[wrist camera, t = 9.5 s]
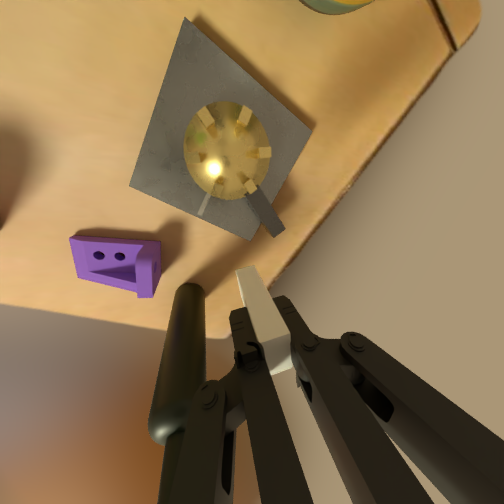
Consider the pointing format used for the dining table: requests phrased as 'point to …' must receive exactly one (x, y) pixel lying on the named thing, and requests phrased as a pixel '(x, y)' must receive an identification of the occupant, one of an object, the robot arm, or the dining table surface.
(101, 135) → the dining table surface
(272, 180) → the plate
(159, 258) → the bracket
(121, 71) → the dining table surface
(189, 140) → the gold tabbed disc
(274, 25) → the dining table surface
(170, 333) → the wine bottle
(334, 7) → the planter
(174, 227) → the dining table surface
